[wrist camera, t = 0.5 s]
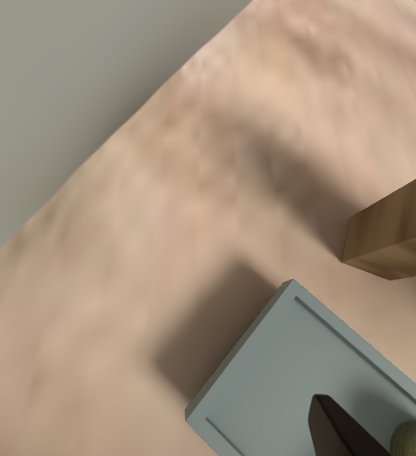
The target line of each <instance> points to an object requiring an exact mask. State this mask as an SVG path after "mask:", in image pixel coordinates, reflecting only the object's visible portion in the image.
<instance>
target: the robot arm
mask: <svg viewBox="0 0 416 456" xmlns="http://www.w3.org/2000/svg"><path fill="white" fill-rule="evenodd" d="M308 425H309V430H310V434H311V438H312V442H313V446H314V450H315V454H316V456H393V455H392V454H391V453H390V452H389V451H388V450H386V449H385V448H384V447H383V446H382V445H381V444H380V443H379V442H378V441H377V440H376V439H375V438H374V437H373V436H372V435H371V434H370V433H369V432H368V431H366V430H365V429H364V428H363V427H362V426H361V425H360V424H359V423H358V422H357V421H356V420H355V419H354V418H353V417H352V416H351V415H350V414H349V413H348V412H346V411H345V410H344V409H343V408H342V407H341V406H340V405H339V404H338V403H337V402H336V401H335V400H334V399H333V398H332V397H331V396H329V395H327V394H314V395H313V396H312V400H311V404H310V409H309V414H308Z"/></svg>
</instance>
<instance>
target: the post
mask: <svg viewBox="0 0 416 456" xmlns="http://www.w3.org/2000/svg"><path fill="white" fill-rule="evenodd" d="M342 263H345V264H347V265H350V266H353V267H355V268H358V269H361V270H364V271H366V272H369V273H372V274H374V275H377V276H380V277H383V278H385V279H388V280H396V279H402V278H408V277H413V276H416V179H415V180H413V181H412V182H410V183H408V184H407V185H405V186H403V187H401V188H400V189H398V190H396V191H395V192H393V193H391V194H389V195H388V196H386V197H384V198H383V199H381V200H379V201H378V202H376V203H374V204H372V205H371V206H369V207H367V208H366V209H364V210H362V211H360V212H359V213H357V214H355V215H354V216H352V217H350V220H349V226H348V231H347V237H346V242H345V247H344V253H343V258H342Z"/></svg>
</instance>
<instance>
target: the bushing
mask: <svg viewBox="0 0 416 456" xmlns="http://www.w3.org/2000/svg"><path fill="white" fill-rule="evenodd" d="M390 453H391V454H392V455H393V456H416V421H406V422H403V423H401V424H400V425H399V426H397V428H396V429H395V430H394V432H393V434H392V437H391V440H390Z"/></svg>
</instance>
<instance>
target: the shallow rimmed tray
mask: <svg viewBox="0 0 416 456" xmlns="http://www.w3.org/2000/svg"><path fill="white" fill-rule="evenodd" d="M314 394H327V395H329V396H331V397H332V398H333V399H334V400H335V401H336V402H337V403H338V404H339V405H340V406H341V407H342V408H343V409H344V410H345V411H346V412H348V413H349V414H350V415H351V416H352V417H353V418H354V419H355V420H356V421H357V422H358V423H359V424H360V425H361V426H362V427H363V428H364V429H365V430H366V431H368V432H369V433H370V434H371V435H372V436H373V437H374V438H375V439H376V440H377V441H378V442H379V443H380V444H381V445H382V446H383V447H384V448H385V449H386V450H388V451H389V452H390V440H391V437H392V434H393V432H394V430H395V429H396V428H397V426H399V425H400V424H401V423H403V422H406V421H416V384H415V383H414V382H413V381H412V380H411V379H409V378H408V377H407V376H406V375H405V374H404V373H402V372H401V371H400V370H399V369H398V368H397V367H396V366H394V365H393V364H392V363H391V362H390V361H389V360H387V359H386V358H385V357H384V356H383V355H382V354H380V353H379V352H378V351H377V350H376V349H375V348H373V347H372V346H371V345H370V344H369V343H368V342H366V341H365V340H364V339H363V338H362V337H361V336H360V335H358V334H357V333H356V332H355V331H354V330H353V329H351V328H350V327H349V326H348V325H347V324H346V323H344V322H343V321H342V320H341V319H340V318H339V317H337V316H336V315H335V314H334V313H333V312H332V311H330V310H329V309H328V308H327V307H326V306H325V305H324V304H322V303H321V302H320V301H319V300H318V299H317V298H315V297H314V296H313V295H312V294H311V293H310V292H308V291H307V290H306V289H305V288H304V287H303V286H301V285H300V284H299V283H298V282H297V281H296V280H294V279H292V280H289V281H286V282H283V283H282V285H281V286H280V287H279V289H278V290H277V291H276V293H275V294H274V295H273V296H272V298H271V299H270V300H269V302H268V303H267V304H266V305H265V307H264V308H263V309H262V311H261V312H260V313H259V315H258V316H257V317H256V318H255V320H254V321H253V322H252V324H251V325H250V326H249V328H248V329H247V330H246V331H245V333H244V334H243V335H242V337H241V338H240V339H239V341H238V342H237V343H236V344H235V346H234V347H233V348H232V350H231V351H230V352H229V354H228V355H227V356H226V357H225V359H224V360H223V361H222V363H221V364H220V365H219V366H218V368H217V369H216V370H215V372H214V373H213V374H212V376H211V377H210V378H209V379H208V381H207V382H206V383H205V385H204V386H203V387H202V389H201V390H200V391H199V392H198V394H197V395H196V396H195V398H194V399H193V400H192V402H191V403H190V404H189V405H188V407H187V408H186V409H185V419H186V422H187V423H188V424H189V425H190V426H191V427H192V428H193V429H194V430H195V431H196V432H197V433H198V434H199V435H200V436H201V438H202V439H203V440H204V441H205V442H206V443H207V444H208V445H209V446H210V447H211V448H212V449H213V450H214V451H215V452H216V453H217V454H218V455H219V456H316V454H315V450H314V446H313V442H312V438H311V434H310V430H309V425H308V414H309V409H310V404H311V400H312V396H313V395H314Z"/></svg>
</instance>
